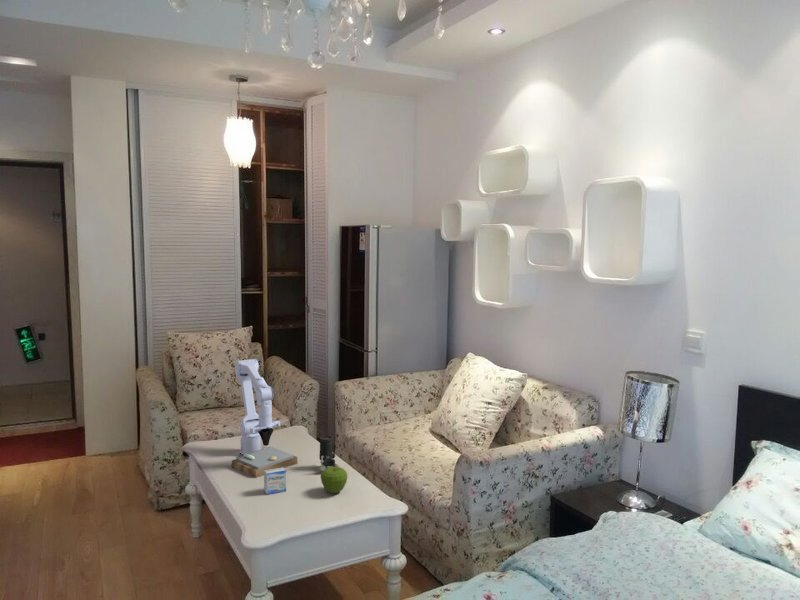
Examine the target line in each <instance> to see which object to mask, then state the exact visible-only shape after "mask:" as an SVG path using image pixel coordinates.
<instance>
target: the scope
mask: <svg viewBox="0 0 800 600" xmlns="http://www.w3.org/2000/svg"><path fill="white" fill-rule="evenodd" d="M319 441H320V442H319V460H320V466H319V469H320V471H321V473H322V472H323V470H325V469H327V468H328V467H340V466H339V463H336V460H335V458H336V454H335V452H333V436H332V435H322V436H320V437H319Z"/></svg>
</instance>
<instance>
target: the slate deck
mask: <svg viewBox="0 0 800 600" xmlns="http://www.w3.org/2000/svg"><path fill="white" fill-rule="evenodd" d="M294 456H295V454H292V453H289V452H286V451H284V450H281V449H278V448H276V447H273V446H267V447H264V448H261V450H258V451H255V452H252V453H248V454H247V453H245V454H244V455H243V454H241V455H239V456H236V457H235V459H236V460H237V461H240V462H242V463H244V464H247V465H249V466H251V467H254V468H256V469H261V468H264V467H267V466H270V465H273V464H276V463H279V462H282V461H285V460H288V459H291V458H294Z"/></svg>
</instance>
